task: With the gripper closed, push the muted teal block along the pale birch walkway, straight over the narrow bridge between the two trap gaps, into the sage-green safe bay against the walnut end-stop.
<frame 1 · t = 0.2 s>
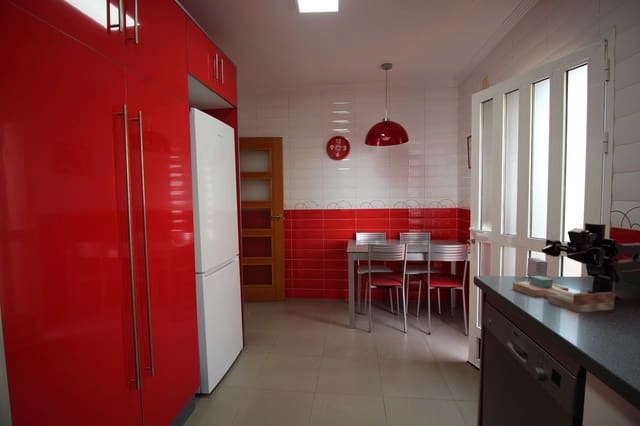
hand: (554, 253, 108), 17 cm above the counter, tool horizontal, fingers open, 9 cm apart
teal block: (540, 285, 116), point 2 cm above the counter, touching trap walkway
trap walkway: (558, 298, 109), on the counter
medicine box: (536, 279, 135), on the counter
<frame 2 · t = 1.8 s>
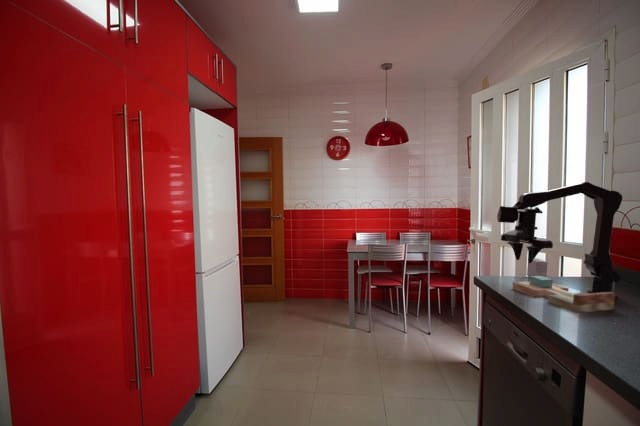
hand: (523, 261, 123), 10 cm above the counter, tool pointing down, fingers open, 5 cm apart
nothing on the counter moved.
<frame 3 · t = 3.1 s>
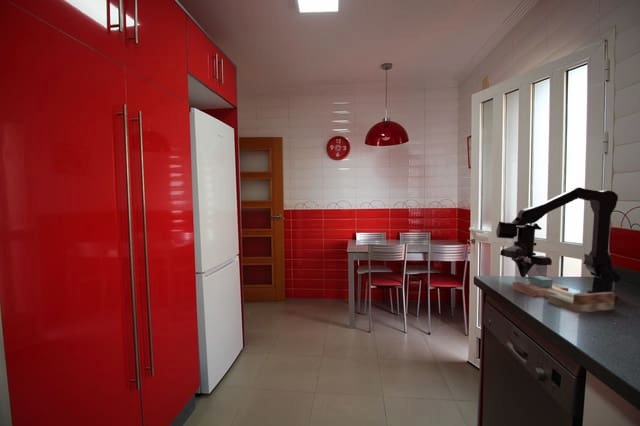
hand: (522, 277, 124), 3 cm above the counter, tool pointing down, fingers closed
nothing on the counter moved.
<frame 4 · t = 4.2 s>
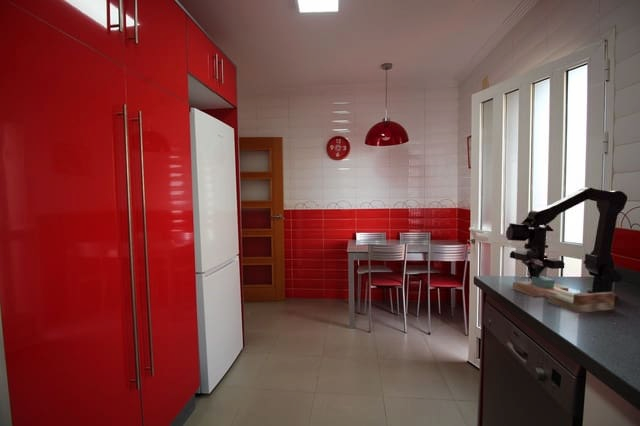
hand: (533, 280, 119), 3 cm above the counter, tool pointing down, fingers closed
teal block: (542, 285, 115), point 3 cm above the counter, touching gripper
everything else where it was.
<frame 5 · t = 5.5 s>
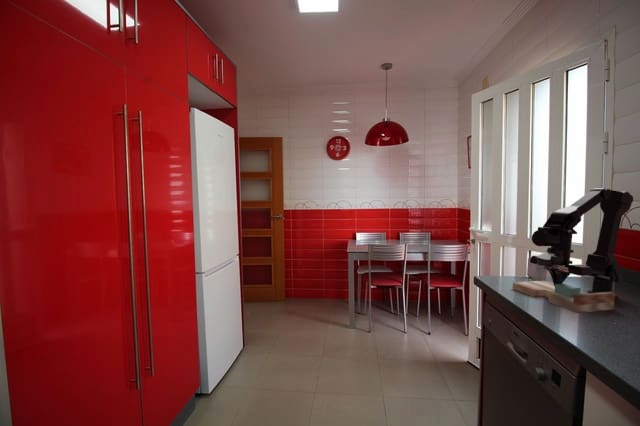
hand: (556, 287, 110), 4 cm above the counter, tool pointing down, fingers closed
teal block: (567, 294, 106), point 2 cm above the counter, touching gripper, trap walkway
everything else where it was.
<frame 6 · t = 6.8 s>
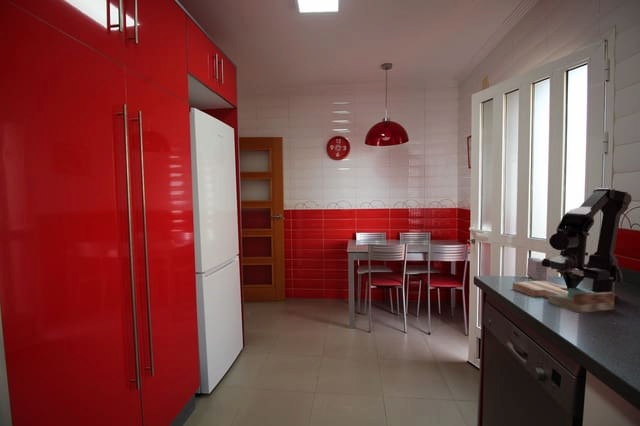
hand: (570, 292, 105), 4 cm above the counter, tool pointing down, fingers closed
teal block: (581, 298, 102), point 2 cm above the counter, touching gripper, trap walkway
everything else where it was.
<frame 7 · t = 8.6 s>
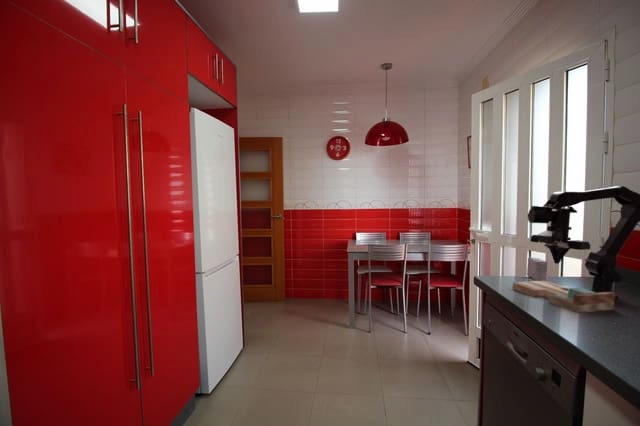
hand: (556, 263, 117), 11 cm above the counter, tool pointing down, fingers closed
teal block: (581, 298, 102), point 2 cm above the counter, touching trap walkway
everything else where it was.
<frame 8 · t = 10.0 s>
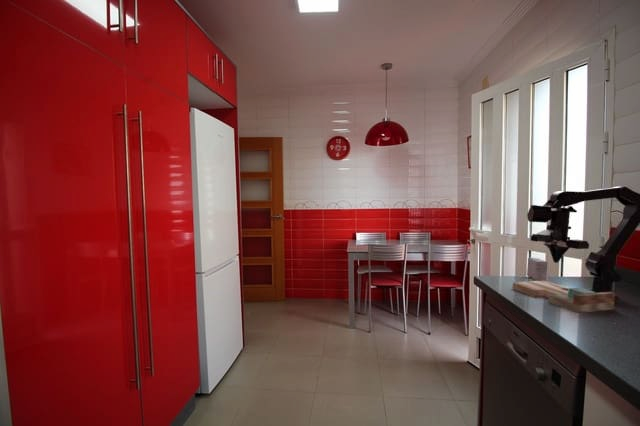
hand: (555, 262, 118), 11 cm above the counter, tool pointing down, fingers closed
nothing on the counter moved.
at the end: teal block 0.5 cm from the target spot on the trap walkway, point 2.5 cm above the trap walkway's base; teal block tilted 0°; medicine box moved 0.3 cm from its start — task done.
